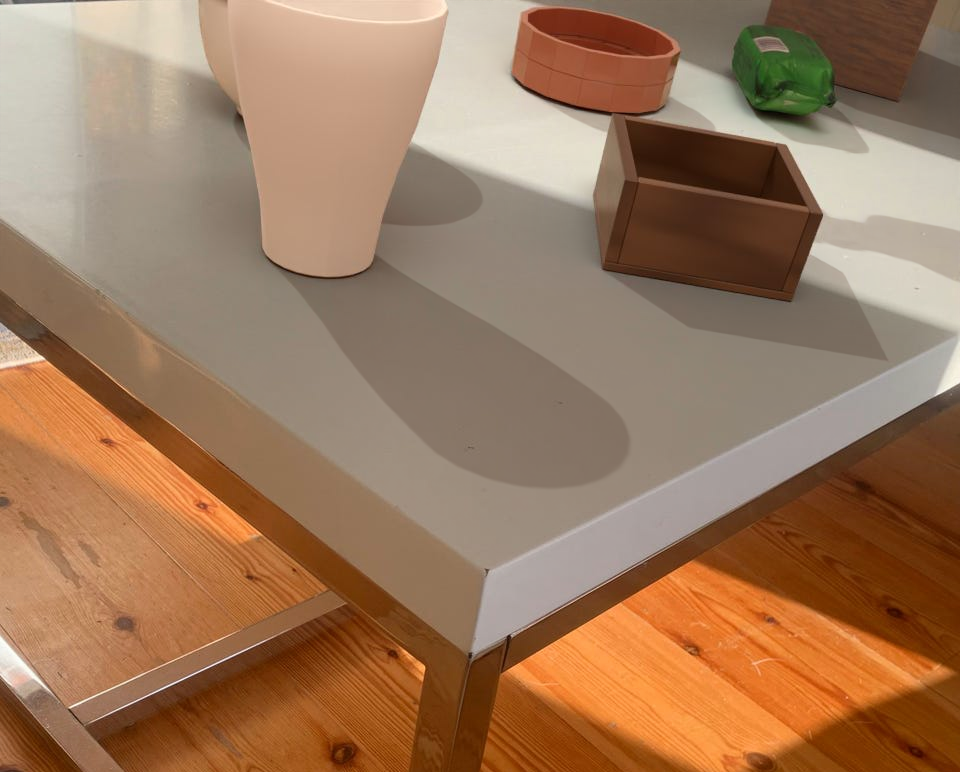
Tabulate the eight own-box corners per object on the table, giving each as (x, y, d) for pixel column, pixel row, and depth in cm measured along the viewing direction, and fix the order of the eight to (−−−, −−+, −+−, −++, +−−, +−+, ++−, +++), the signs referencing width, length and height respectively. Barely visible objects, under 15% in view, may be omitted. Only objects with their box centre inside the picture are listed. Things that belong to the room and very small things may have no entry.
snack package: (745, 123, 94) (766, 59, 91) (720, 67, 106) (738, 9, 103) (826, 139, 94) (850, 75, 91) (793, 82, 107) (812, 24, 103)
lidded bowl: (156, 107, 74) (153, -78, 68) (264, 70, 84) (271, -96, 77) (319, 164, 71) (333, -24, 65) (412, 119, 81) (433, -49, 74)
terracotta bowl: (657, 78, 100) (671, 25, 97) (672, 127, 90) (688, 69, 87) (511, 51, 99) (521, -4, 96) (510, 98, 88) (520, 38, 86)
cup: (394, 217, 67) (425, -28, 59) (430, 302, 59) (471, 33, 51) (214, 207, 64) (218, -54, 56) (227, 294, 56) (235, 8, 48)
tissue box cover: (898, 101, 107) (942, -11, 101) (752, 61, 110) (786, -51, 104) (914, 48, 127) (951, -49, 121) (790, 15, 130) (821, -82, 124)
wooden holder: (759, 224, 76) (786, 144, 73) (791, 301, 67) (824, 214, 64) (592, 195, 75) (612, 112, 72) (602, 269, 66) (624, 178, 63)
